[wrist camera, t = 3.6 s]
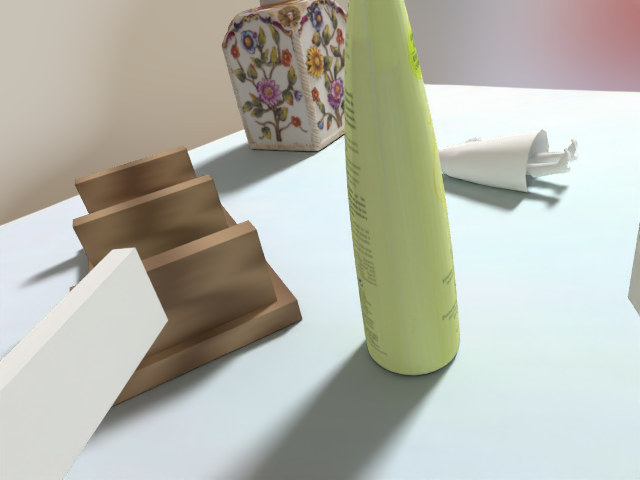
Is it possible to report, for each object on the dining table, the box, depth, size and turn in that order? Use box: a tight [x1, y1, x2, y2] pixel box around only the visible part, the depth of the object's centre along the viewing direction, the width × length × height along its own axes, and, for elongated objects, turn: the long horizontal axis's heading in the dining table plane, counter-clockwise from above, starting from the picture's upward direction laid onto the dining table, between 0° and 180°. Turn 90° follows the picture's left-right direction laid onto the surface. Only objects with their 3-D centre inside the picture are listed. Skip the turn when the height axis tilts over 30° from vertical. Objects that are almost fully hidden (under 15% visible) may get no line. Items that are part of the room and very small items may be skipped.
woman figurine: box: [438, 129, 577, 193], centre depth 42 cm, size 12×4×18 cm
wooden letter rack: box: [70, 146, 302, 407], centre depth 35 cm, size 12×24×6 cm, turn 25°
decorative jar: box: [222, 0, 347, 151], centre depth 58 cm, size 12×12×18 cm
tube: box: [344, 0, 460, 375], centre depth 20 cm, size 6×5×20 cm
